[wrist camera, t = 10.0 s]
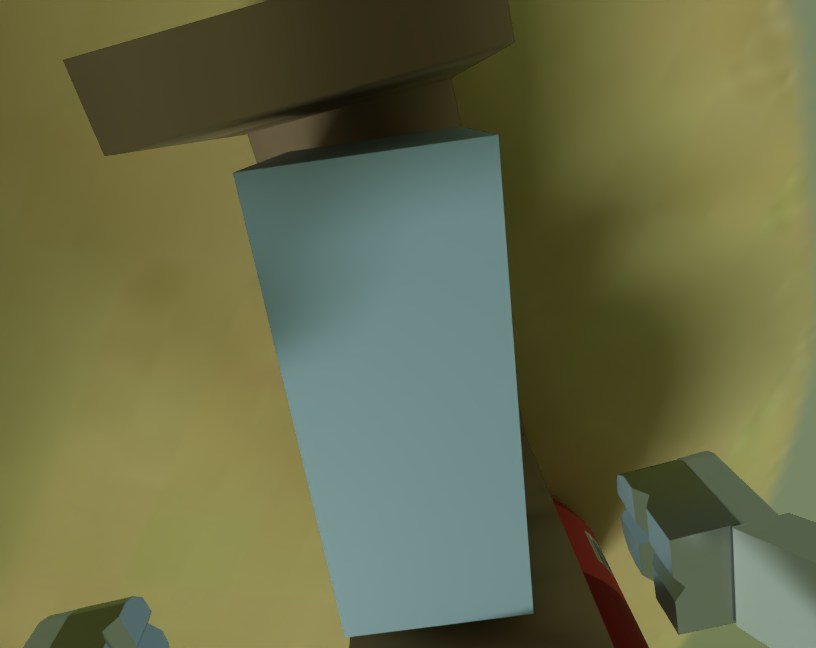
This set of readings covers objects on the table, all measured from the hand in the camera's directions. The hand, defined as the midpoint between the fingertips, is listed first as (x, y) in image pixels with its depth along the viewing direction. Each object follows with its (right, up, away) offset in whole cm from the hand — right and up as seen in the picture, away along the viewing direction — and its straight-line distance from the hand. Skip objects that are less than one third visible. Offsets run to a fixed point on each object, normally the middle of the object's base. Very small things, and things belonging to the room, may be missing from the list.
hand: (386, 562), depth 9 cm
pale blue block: (0, +4, +9) cm, 10 cm away
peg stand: (0, +5, +12) cm, 14 cm away
